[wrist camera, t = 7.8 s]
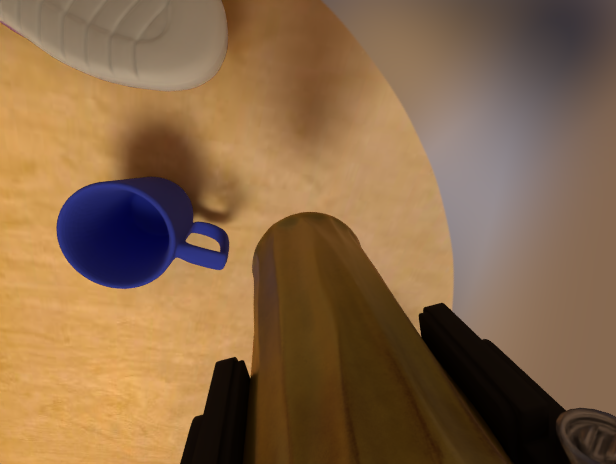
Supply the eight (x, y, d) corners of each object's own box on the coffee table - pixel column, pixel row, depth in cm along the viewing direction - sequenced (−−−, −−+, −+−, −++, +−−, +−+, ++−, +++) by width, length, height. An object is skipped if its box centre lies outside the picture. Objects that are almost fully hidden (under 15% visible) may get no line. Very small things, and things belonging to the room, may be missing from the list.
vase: (238, 296, 18) (143, 763, 5) (274, 194, 17) (289, 431, 3) (337, 325, 19) (493, 762, 6) (378, 231, 18) (707, 516, 4)
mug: (226, 266, 36) (209, 313, 26) (111, 234, 34) (46, 272, 24) (248, 196, 34) (239, 219, 24) (128, 156, 32) (65, 165, 22)
